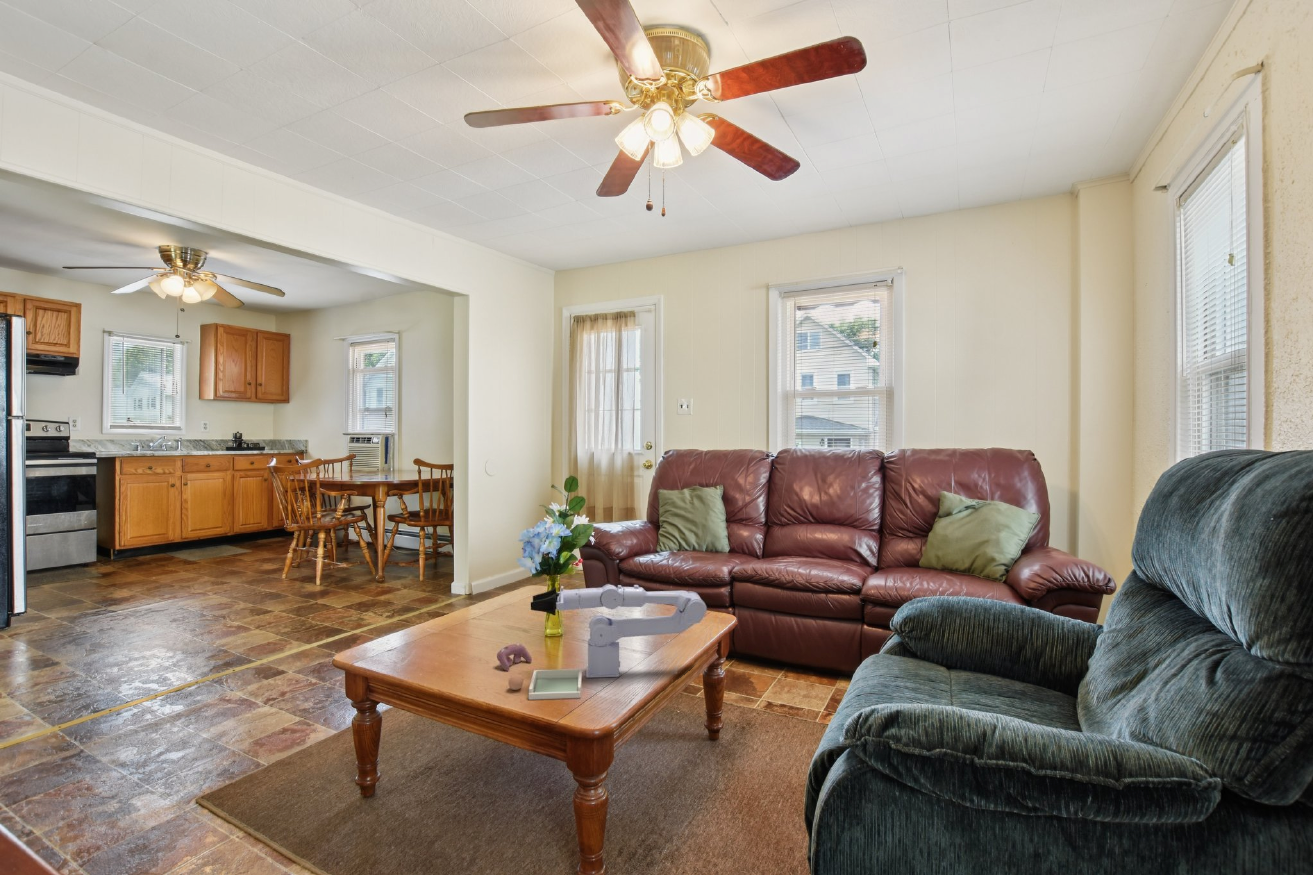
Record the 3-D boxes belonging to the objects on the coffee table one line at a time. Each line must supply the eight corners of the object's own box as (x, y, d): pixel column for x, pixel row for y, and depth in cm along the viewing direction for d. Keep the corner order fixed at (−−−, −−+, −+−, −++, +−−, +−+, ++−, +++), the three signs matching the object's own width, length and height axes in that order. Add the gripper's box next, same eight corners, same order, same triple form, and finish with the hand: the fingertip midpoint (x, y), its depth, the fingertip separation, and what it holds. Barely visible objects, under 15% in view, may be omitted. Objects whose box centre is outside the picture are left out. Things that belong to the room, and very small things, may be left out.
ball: (524, 686, 169) (524, 671, 169) (522, 692, 165) (522, 677, 165) (509, 686, 168) (509, 672, 168) (507, 692, 164) (507, 677, 164)
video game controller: (525, 664, 188) (519, 642, 190) (533, 661, 186) (527, 638, 188) (498, 674, 181) (492, 650, 183) (507, 671, 178) (500, 647, 180)
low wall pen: (581, 677, 175) (582, 668, 175) (580, 697, 162) (580, 688, 161) (534, 678, 174) (534, 670, 174) (528, 699, 160) (528, 690, 160)
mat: (577, 679, 174) (577, 677, 174) (576, 696, 162) (576, 695, 162) (537, 680, 173) (537, 679, 173) (533, 697, 161) (533, 696, 161)
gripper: (578, 580, 185) (533, 583, 183) (578, 590, 171) (529, 594, 169) (579, 603, 185) (534, 607, 183) (579, 616, 170) (530, 620, 169)
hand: (531, 602), depth 176 cm, fingers open, 7 cm apart
